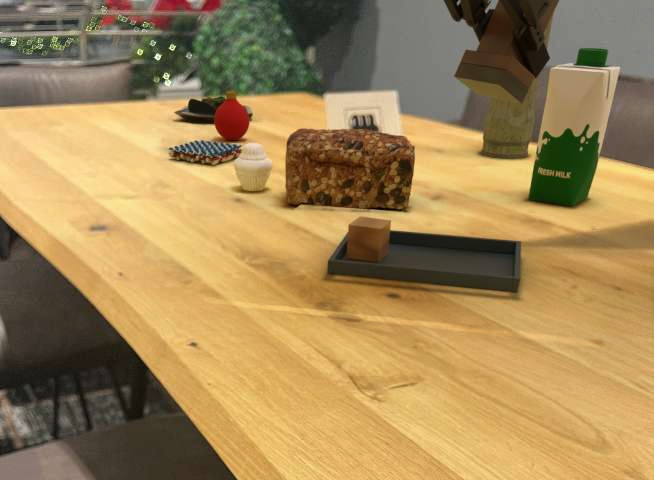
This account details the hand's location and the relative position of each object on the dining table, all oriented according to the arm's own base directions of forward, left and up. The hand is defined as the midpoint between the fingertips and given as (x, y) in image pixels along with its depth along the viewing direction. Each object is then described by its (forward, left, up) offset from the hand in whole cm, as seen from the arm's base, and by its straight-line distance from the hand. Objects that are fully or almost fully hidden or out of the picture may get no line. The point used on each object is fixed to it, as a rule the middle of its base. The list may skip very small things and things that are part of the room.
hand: (522, 65), depth 89 cm
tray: (+7, +14, -20) cm, 25 cm away
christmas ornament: (+54, -55, -20) cm, 80 cm away
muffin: (+38, -17, -20) cm, 47 cm away
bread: (+22, -14, -20) cm, 33 cm away
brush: (+3, +4, -2) cm, 6 cm away
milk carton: (-9, -26, -20) cm, 34 cm away
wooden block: (+14, +13, -20) cm, 28 cm away
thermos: (0, -58, -20) cm, 62 cm away
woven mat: (+53, -37, -20) cm, 68 cm away
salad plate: (+66, -79, -20) cm, 105 cm away
